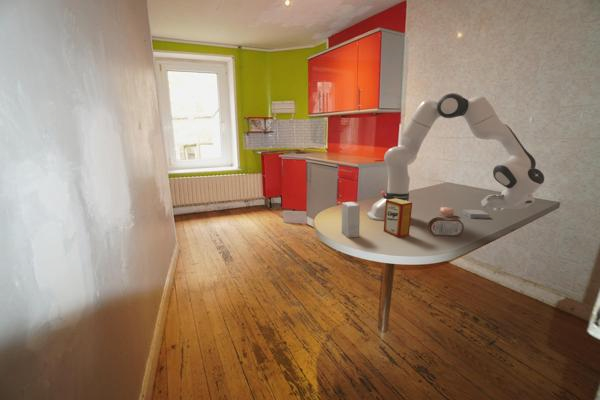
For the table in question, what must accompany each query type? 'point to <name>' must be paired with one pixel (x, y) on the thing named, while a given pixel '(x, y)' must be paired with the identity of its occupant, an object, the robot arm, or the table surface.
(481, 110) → the robot arm
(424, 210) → the table surface
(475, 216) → the tile
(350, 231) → the skincare box
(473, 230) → the table surface
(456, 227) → the tin
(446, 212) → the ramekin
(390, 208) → the baking soda box
